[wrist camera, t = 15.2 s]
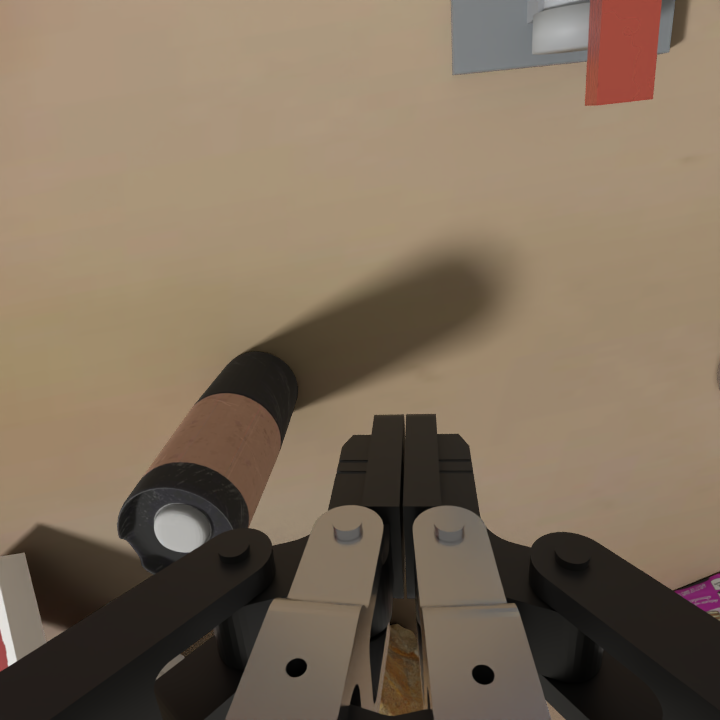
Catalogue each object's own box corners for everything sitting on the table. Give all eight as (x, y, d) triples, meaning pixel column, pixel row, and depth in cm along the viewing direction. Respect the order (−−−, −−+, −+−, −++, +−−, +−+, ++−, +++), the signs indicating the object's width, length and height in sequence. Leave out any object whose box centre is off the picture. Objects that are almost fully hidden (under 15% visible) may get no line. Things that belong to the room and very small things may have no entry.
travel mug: (311, 364, 50) (253, 510, 32) (288, 432, 53) (223, 600, 35) (230, 336, 50) (124, 468, 32) (211, 406, 53) (106, 562, 35)
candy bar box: (722, 566, 55) (835, 735, 41) (743, 598, 57) (860, 773, 42) (616, 610, 59) (684, 780, 44) (638, 639, 60) (712, 813, 45)
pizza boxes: (26, 523, 61) (-115, 675, 45) (228, 675, 69) (170, 854, 52) (-58, 601, 68) (-209, 759, 51) (135, 733, 75) (57, 908, 59)
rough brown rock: (396, 531, 58) (377, 650, 44) (467, 646, 62) (470, 789, 48) (221, 594, 65) (157, 714, 52) (294, 694, 69) (254, 831, 56)
